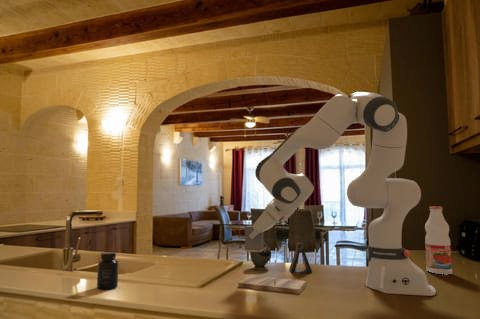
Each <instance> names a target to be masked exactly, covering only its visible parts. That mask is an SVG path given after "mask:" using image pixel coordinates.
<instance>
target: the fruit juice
mask: <svg viewBox="0 0 480 319" xmlns="http://www.w3.org/2000/svg"><path fill="white" fill-rule="evenodd" d="M443 209H444V208H443V206H435V205H433V206H429V211H430V212H429V216H428V219H427V220H426V222H425V224H424V229H425V230H424V231H425V232H426V234H425V238H424V239H425V241H424V245H425V263H426V265H425V266H426V272H427V271H429V272H432V273H436V274H442V275H441V276H449V275H448V274H451V275H453V269H452V268H453V262H452V248H451V246H452V244H451V239H450V237H449V233H450V226H449V224H448V222H447V221H446V219H445V217H444V215H443ZM436 274H435V275H436ZM443 274H444V275H443Z"/></svg>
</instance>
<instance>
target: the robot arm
mask: <svg viewBox="0 0 480 319" xmlns="http://www.w3.org/2000/svg"><path fill="white" fill-rule="evenodd" d="M354 123H358V124H360V125H362V126H366V127H367V128H370V129H372V139H371V140H372V142H371V150H370V156H369V161H368V164H367V165H366V167H365V169H364V170H363V171H362V172H361V174H360V175H359V176H358V177H356V178H355V179H353V180H351V181H350V182H349V184H348V186H347V188H346V196H347V200H348V201H349V202H350V203H351V205H353V206H354V207H358V208H363V209H383V213H382V214H381V216H379V217H377V218H375V219H373V220H372V221H371V222H369V225H368V230H367V231H368V246H367V249H366V251H367V260H368V268H367V276H366V281H365V286H366V287H367V288H370V289H372V290H375V291H379V292H381V293H382V294H383V293H384V294H390V295H391V294H392V295H412V296H424V297H425V296H430V297H431V296H435V295H436V293H437V291H436V289H435V287H434V286H433V285H431V284H430V283H429V281H428V277H427V275H426V273H425V271H424V270H423V269H422V268H420V267H419V266H418V265H417V264H415V263H414V262H413V261H412V260H410V259H409V257H410V256H411V252H410V250H407V249H406V248H404V247H402V234H403V233H402V230H403V223H404V222H405V218H406V216H407V215H408V213H409V212H410V210H412V209H413V208H415V207H416V206H417V205H418V204H419V202H420V201H421V197H422V191H421V188H420V185H419V184H418V183H417V182H416V181H414V180H412V179H411V180H410V179H407V178H399V177H398V178H393V177H391V178H388V177H389V176H390V175H391V174H393V173H395V172H398V171H400V169H401V168H402V167H403V165H404V164H405V163H404V162H405V158H406V157H405V156H406V149H407V148H406V147H407V140H408V123H407V119H406V116H405V115H404V114H403V113H401V112H399V110H398V108H397V105H396V103H395V102H394V101H393V100H392V99H391V98H389V97H387V96H384V95H381V94H379V93H376V92H368V91H367V90H361V91H356V92H353V93H351V94H350V95H343V94H336V95H334V96H332V97H331V98H330V99H329V100H327V102H325V104H323V106H322V107H321V108H319V110H318V111H317V112H316V113H315V115H314V116H312V118H311V119H310V120H309V121H308V122H307V123H305V124H304V125H303V126H301V127H298V128H296V129H294V131H293V132H291V133H290V135H288V136H287V137H286V138H285V139H284V140H283V141H282V142H281V143H280V144H279V145H278V146H277V147H276V148H275V149H274V150H273V152H271V153H270V154H269V155H268V156H266V157H264V158H263V159H262V160H260V161H259V163H257V165H256V168H255V170H254V172H255V177H256V179H257V181H258V182H259V183H261V184H262V185H263V186H264V188H265V190H266V191H267V192H268V193H269V194H270V195H271V196H272V197H273V198H272V200H270V202H269V203H267V205H266V206H265V207H264V209H265V210H264V211H263V212H262V214H261V215H259V217H258V218H257V219H256V221H254V223H253V225H252V226H253V228H254V230H253V232H252V233H251V234H250V235H249V237H250V238H251V239H253V238H255V237H256V235H257V234H259V233H262V232H265V231H268V230H270V229H272V228H273V227H274V225H276V224H279V223H280V222H282V223H285V222H286V221H288V219H289V218H290V217H291V216H292V215H293V214H294V212H295V211H296V209H298V207H301V206H302V205H303V204H304V203H305V202H306V201H307V200H308V199H309V198H310V196H311V195H312V194H313V192H314V189H315V187H314V184H313V182H312V181H311V180H310V179H309V177H308V176H307V175H306V174H304V173H302V172H301V173H299V174H295V173H289V172H288V171H287V170H286V169H285V168H284V165H285V163H286V162H288V160H289V159H290V158H292V156H294V155H295V154H296V153H297V152H298V151H299V150H302V149H303V148H308V149H309V148H310V149H313V150H325V149H329V148H331V147H332V146H333V145H335V143H336V142H337V141H338V140H339V139H340V138H341V136H342V135H343V134H344V132H346V130H347V129H348V127H349V126H351V125H352V124H354Z"/></svg>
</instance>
